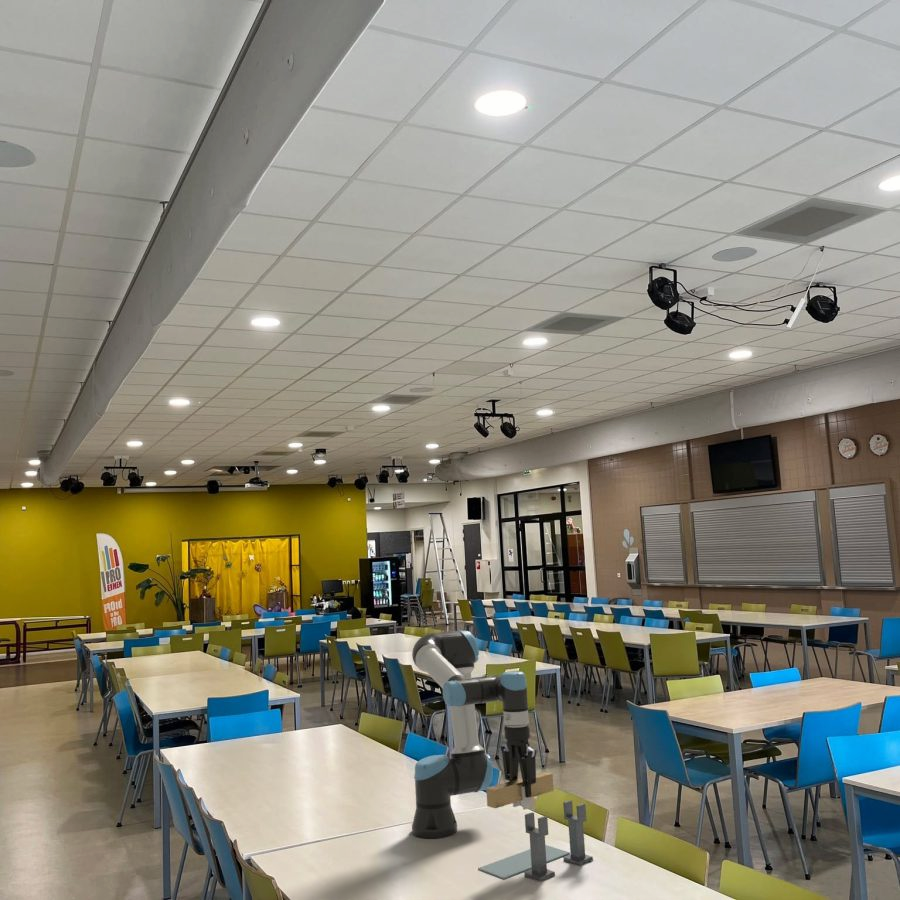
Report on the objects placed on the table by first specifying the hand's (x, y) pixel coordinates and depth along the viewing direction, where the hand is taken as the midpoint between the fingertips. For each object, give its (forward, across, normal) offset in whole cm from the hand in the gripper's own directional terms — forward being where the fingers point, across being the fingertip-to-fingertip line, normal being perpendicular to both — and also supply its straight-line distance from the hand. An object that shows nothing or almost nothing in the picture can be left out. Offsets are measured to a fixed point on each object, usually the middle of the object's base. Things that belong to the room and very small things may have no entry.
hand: (522, 806), depth 242 cm
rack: (+15, +11, +3) cm, 19 cm away
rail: (-2, 0, 0) cm, 2 cm away
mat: (+15, 0, 0) cm, 15 cm away
